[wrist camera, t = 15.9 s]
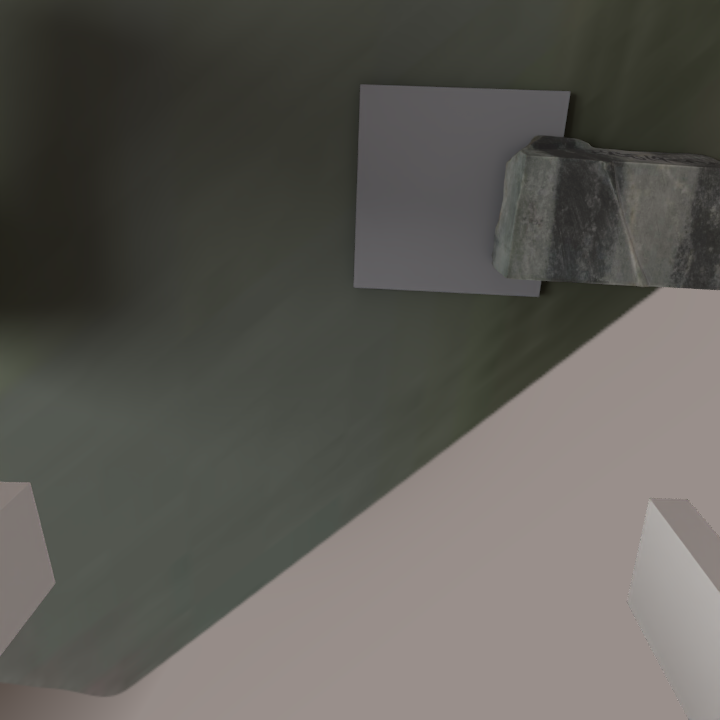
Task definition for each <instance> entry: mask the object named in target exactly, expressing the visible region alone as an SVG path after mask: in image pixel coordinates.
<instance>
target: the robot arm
mask: <svg viewBox="0 0 720 720" xmlns="http://www.w3.org/2000/svg"><path fill="white" fill-rule="evenodd" d="M54 584H55V579H54V575H53V571H52V568H51V564H50V560H49V556H48V552H47V548H46V544H45V540H44V536H43V532H42V528H41V524H40V520H39V516H38V512H37V508H36V504H35V500H34V496H33V492H32V488H31V484H30V483H24V482H0V655H1V654H2V653H3V652H4V650H5V649H6V648H7V646H8V645H9V644H10V642H11V641H12V640H13V638H14V637H15V636H16V634H17V633H18V632H19V630H20V629H21V628H22V627H23V625H24V624H25V623H26V621H27V620H28V619H29V617H30V616H31V615H32V613H33V612H34V611H35V609H36V608H37V607H38V605H39V604H40V603H41V602H42V600H43V599H44V598H45V596H46V595H47V594H48V592H49V591H50V590H51V588H52V587H53V586H54ZM627 603H628V605H629V607H630V609H631V611H632V613H633V615H634V617H635V619H636V621H637V623H638V625H639V626H640V628H641V630H642V632H643V634H644V636H645V638H646V640H647V642H648V644H649V645H650V647H651V649H652V651H653V653H654V655H655V657H656V659H657V661H658V663H659V665H660V666H661V668H662V670H663V672H664V674H665V676H666V678H667V680H668V682H669V684H670V686H671V687H672V689H673V691H674V693H675V695H676V697H677V699H678V701H679V703H680V705H681V707H682V708H683V710H684V712H685V714H686V716H687V718H688V720H720V537H719V536H718V534H717V533H716V532H715V531H714V530H713V529H712V527H711V526H710V525H709V524H708V523H707V522H706V520H705V519H704V518H703V517H702V516H701V514H700V513H699V512H698V511H697V510H696V509H695V507H694V506H693V505H692V504H691V503H690V502H689V500H688V499H660V498H650V499H649V503H648V508H647V512H646V516H645V522H644V526H643V531H642V535H641V539H640V544H639V549H638V554H637V558H636V562H635V567H634V572H633V576H632V581H631V585H630V590H629V594H628V599H627Z"/></svg>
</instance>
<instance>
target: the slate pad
mask: <svg viewBox="0 0 720 720" xmlns="http://www.w3.org/2000/svg"><path fill="white" fill-rule="evenodd" d="M570 92H571V91H542V90H512V89H483V88H453V87H423V86H394V85H364V84H360V110H359V140H358V170H357V201H356V231H355V261H354V288H374V289H393V290H413V291H433V292H452V293H472V294H491V295H511V296H531V297H539V293H540V287H541V281H537V280H519V279H508V278H505V277H504V276H503V275H502V274H501V273H499V272H498V271H497V270H496V269H495V268H494V267H493V265H492V264H491V263H492V261H493V259H492V256H491V255H492V252H493V248H494V235H495V228H496V225H497V223H498V220H499V215H500V210H501V207H502V202H503V195H504V179H505V172H506V163H507V162H508V161H509V160H510V159H511V158H512V157H513V156H514V155H515V154H516V153H517V152H519V151H520V150H521V149H523V148H524V147H526V146H527V145H528V144H529V143H530V142H531V140H532V139H533V138H534V137H535V136H538V135H544V136H555V137H564V131H565V125H566V118H567V112H568V105H569V99H570Z"/></svg>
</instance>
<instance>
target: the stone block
mask: <svg viewBox="0 0 720 720" xmlns="http://www.w3.org/2000/svg"><path fill="white" fill-rule="evenodd" d="M491 256H492V259H493V261H492V263H491V264H492V265H493V267H494V268H495V269H496V270H497V271H498V272H499V273H501V274H502V275H503V276H504V277H505V278H508V279H519V280H537V281H555V282H576V283H594V284H611V285H628V286H640V287H648V286H655V287H674V288H693V289H710V290H720V161H718V160H715V159H714V158H711V157H708V156H706V155H699V154H689V153H661V152H637V151H624V150H615V149H602V148H594V147H591V146H590V144H589V143H586V142H584V141H582V140H579V139H575V138H565V137H555V136H544V135H538V136H535V137H534V138H533V139H532V140H531V142H530V143H529V144H528V145H527V146H526V147H524V148H523V149H521V150H520V151H519V152H517V153H516V154H515V155H514V156H513V157H512V158H511V159H510V160H509V161H508V162H507V163H506V172H505V179H504V195H503V202H502V207H501V210H500V215H499V220H498V223H497V225H496V228H495V235H494V248H493V252H492V255H491Z"/></svg>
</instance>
